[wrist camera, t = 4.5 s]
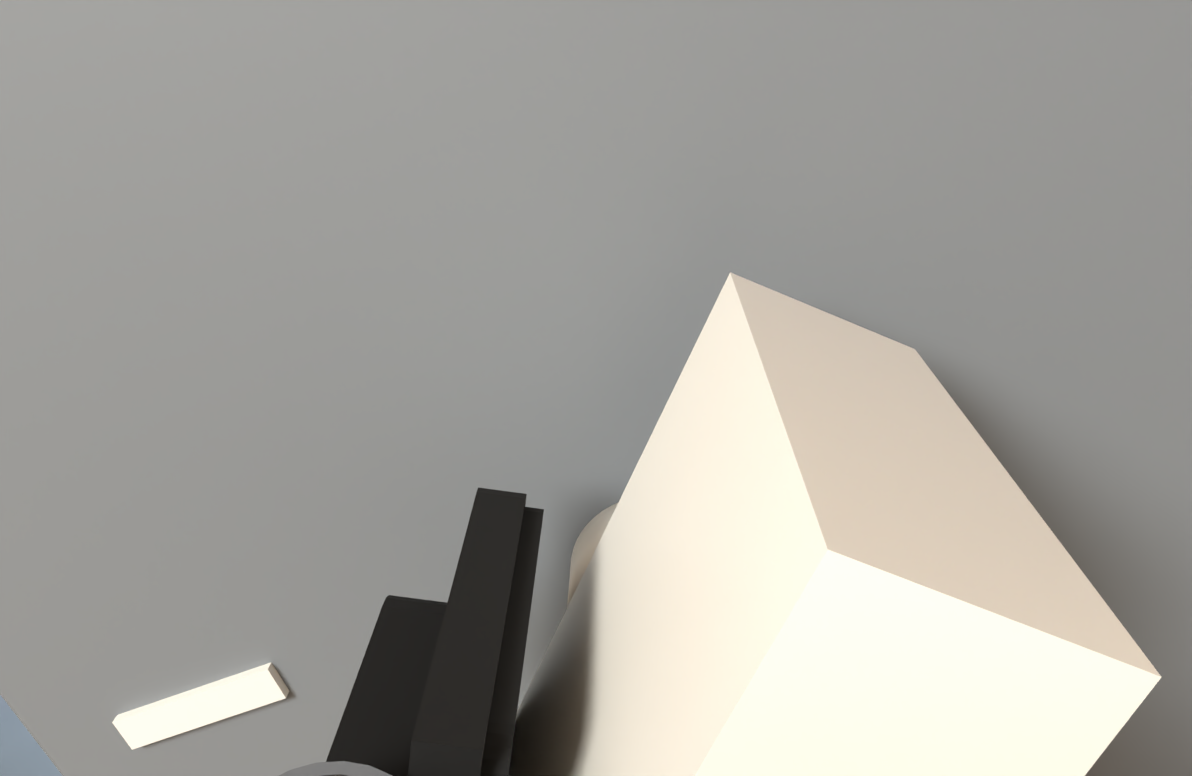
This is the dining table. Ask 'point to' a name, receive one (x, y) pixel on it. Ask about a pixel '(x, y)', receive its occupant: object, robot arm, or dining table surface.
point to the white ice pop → (822, 583)
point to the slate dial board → (536, 310)
